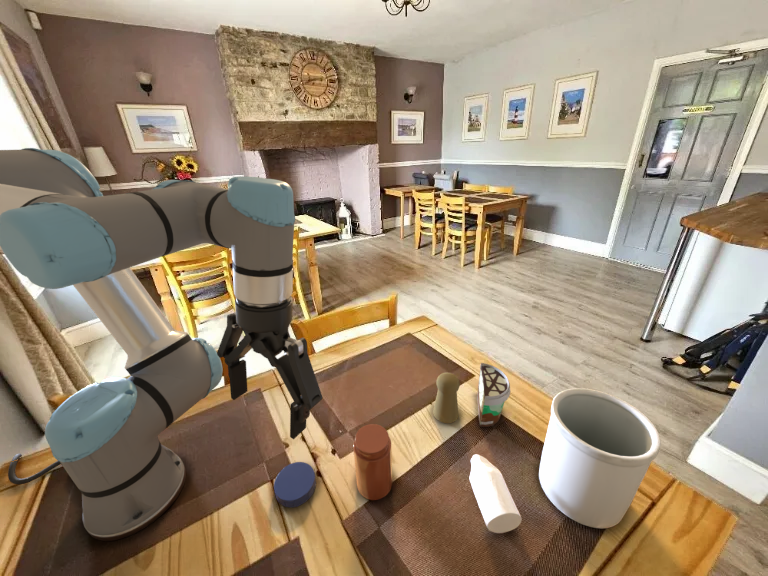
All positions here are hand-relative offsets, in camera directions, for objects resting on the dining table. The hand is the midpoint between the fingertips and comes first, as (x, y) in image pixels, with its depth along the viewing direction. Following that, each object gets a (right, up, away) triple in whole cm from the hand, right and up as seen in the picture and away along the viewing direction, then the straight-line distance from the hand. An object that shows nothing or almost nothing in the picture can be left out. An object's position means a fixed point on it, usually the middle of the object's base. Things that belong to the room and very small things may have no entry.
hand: (267, 412), depth 51 cm
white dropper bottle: (+38, -18, +6) cm, 43 cm away
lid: (+2, -16, +8) cm, 18 cm away
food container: (+45, -9, +23) cm, 52 cm away
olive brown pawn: (+34, -10, +24) cm, 43 cm away
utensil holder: (+56, -17, +7) cm, 58 cm away
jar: (+17, -17, +9) cm, 26 cm away
